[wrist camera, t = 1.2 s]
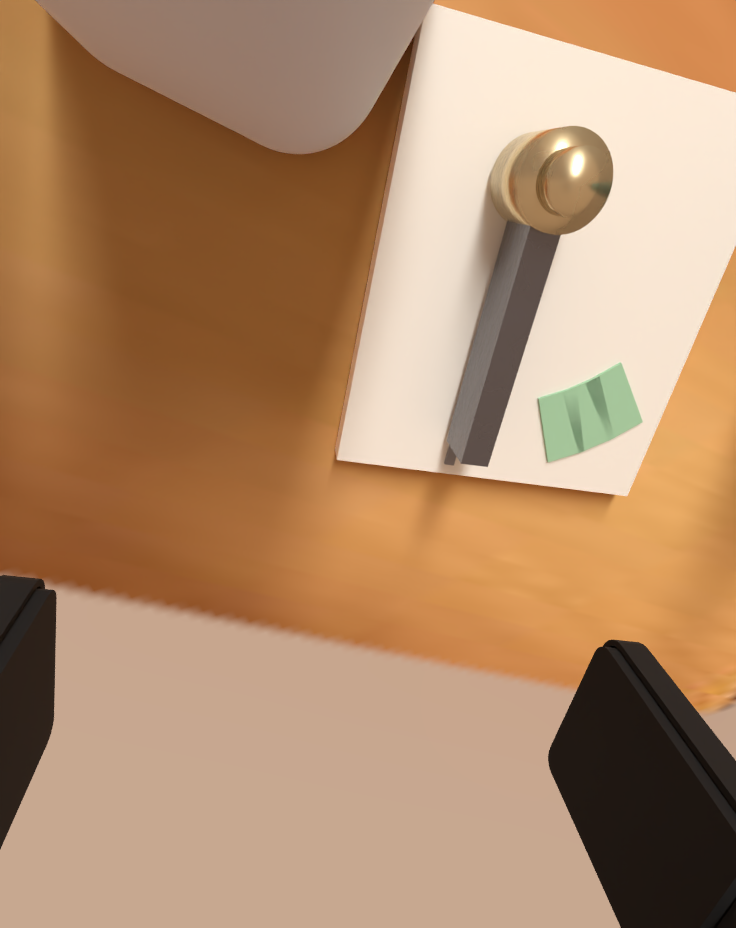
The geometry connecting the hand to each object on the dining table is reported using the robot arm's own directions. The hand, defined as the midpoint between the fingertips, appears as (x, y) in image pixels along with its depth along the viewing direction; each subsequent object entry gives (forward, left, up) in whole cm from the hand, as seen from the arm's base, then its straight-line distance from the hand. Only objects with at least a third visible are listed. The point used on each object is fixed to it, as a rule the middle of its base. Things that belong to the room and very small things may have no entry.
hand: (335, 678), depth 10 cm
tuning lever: (-3, +10, -24) cm, 27 cm away
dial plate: (-4, +13, -26) cm, 30 cm away
